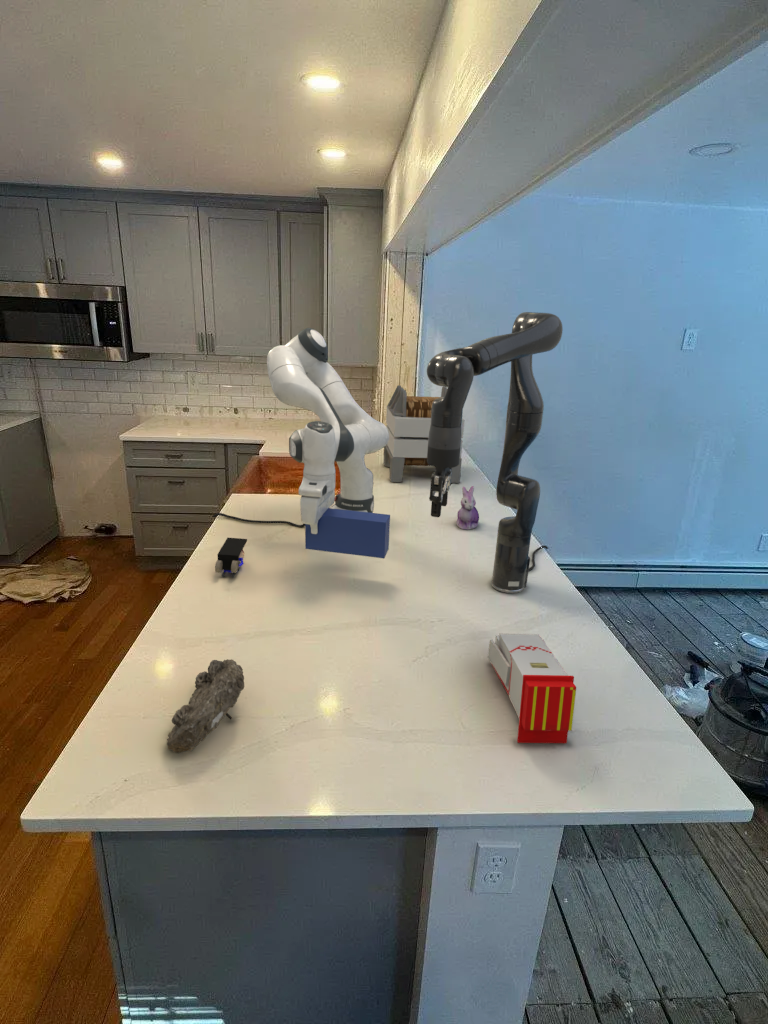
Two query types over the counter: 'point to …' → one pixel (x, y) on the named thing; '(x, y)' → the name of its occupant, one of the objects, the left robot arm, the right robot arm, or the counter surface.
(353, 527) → the box
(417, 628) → the counter surface
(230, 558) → the figurine character
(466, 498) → the figurine
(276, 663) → the counter surface
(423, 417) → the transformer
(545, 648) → the toy
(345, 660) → the counter surface
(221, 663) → the fossil
